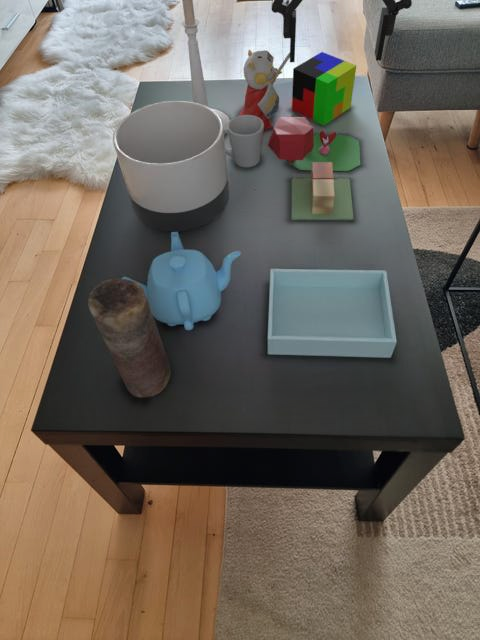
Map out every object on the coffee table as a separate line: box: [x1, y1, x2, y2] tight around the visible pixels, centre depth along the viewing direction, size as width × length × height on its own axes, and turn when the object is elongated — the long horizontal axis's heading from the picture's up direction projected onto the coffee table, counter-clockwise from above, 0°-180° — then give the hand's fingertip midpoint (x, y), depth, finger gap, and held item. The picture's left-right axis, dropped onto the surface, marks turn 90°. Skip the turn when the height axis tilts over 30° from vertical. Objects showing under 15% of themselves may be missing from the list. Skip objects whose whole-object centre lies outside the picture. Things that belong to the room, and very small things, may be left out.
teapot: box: [121, 231, 242, 331], centre depth 79 cm, size 15×14×11 cm
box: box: [267, 268, 397, 359], centre depth 78 cm, size 19×14×4 cm
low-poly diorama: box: [267, 116, 361, 172], centre depth 102 cm, size 15×20×9 cm
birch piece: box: [311, 178, 335, 214], centre depth 94 cm, size 4×5×4 cm
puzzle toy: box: [291, 51, 357, 126], centre depth 112 cm, size 10×10×10 cm
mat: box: [290, 178, 355, 221], centre depth 97 cm, size 12×12×1 cm
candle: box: [87, 278, 172, 398], centre depth 67 cm, size 8×7×20 cm
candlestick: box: [180, 0, 231, 136], centre depth 102 cm, size 13×13×30 cm
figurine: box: [238, 49, 290, 131], centre depth 109 cm, size 13×11×15 cm
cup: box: [223, 115, 264, 168], centre depth 103 cm, size 8×10×8 cm
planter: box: [112, 100, 230, 232], centre depth 91 cm, size 19×19×18 cm
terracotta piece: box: [310, 162, 334, 195], centre depth 97 cm, size 4×5×4 cm
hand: (334, 57), depth 77 cm, fingers open, 13 cm apart
